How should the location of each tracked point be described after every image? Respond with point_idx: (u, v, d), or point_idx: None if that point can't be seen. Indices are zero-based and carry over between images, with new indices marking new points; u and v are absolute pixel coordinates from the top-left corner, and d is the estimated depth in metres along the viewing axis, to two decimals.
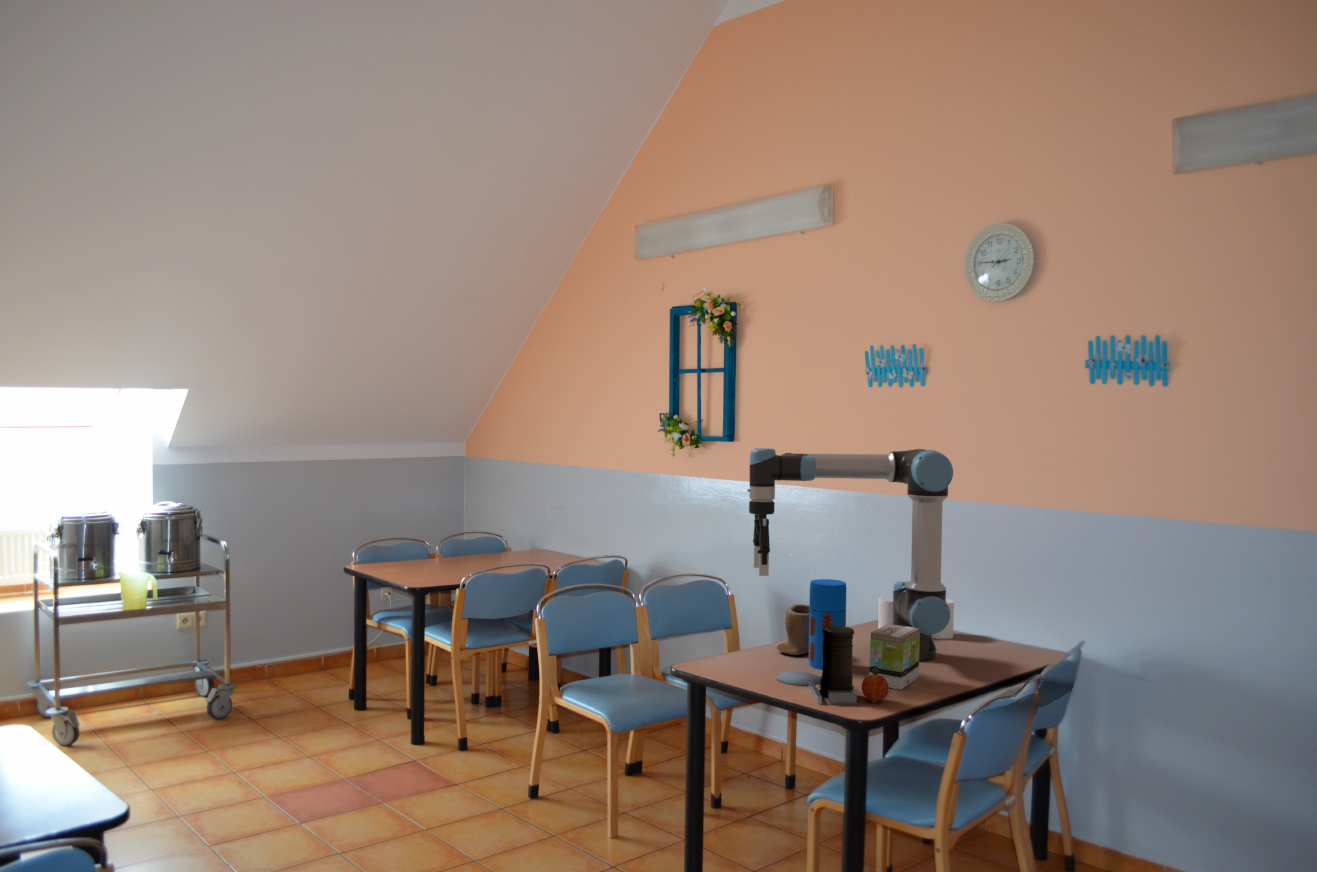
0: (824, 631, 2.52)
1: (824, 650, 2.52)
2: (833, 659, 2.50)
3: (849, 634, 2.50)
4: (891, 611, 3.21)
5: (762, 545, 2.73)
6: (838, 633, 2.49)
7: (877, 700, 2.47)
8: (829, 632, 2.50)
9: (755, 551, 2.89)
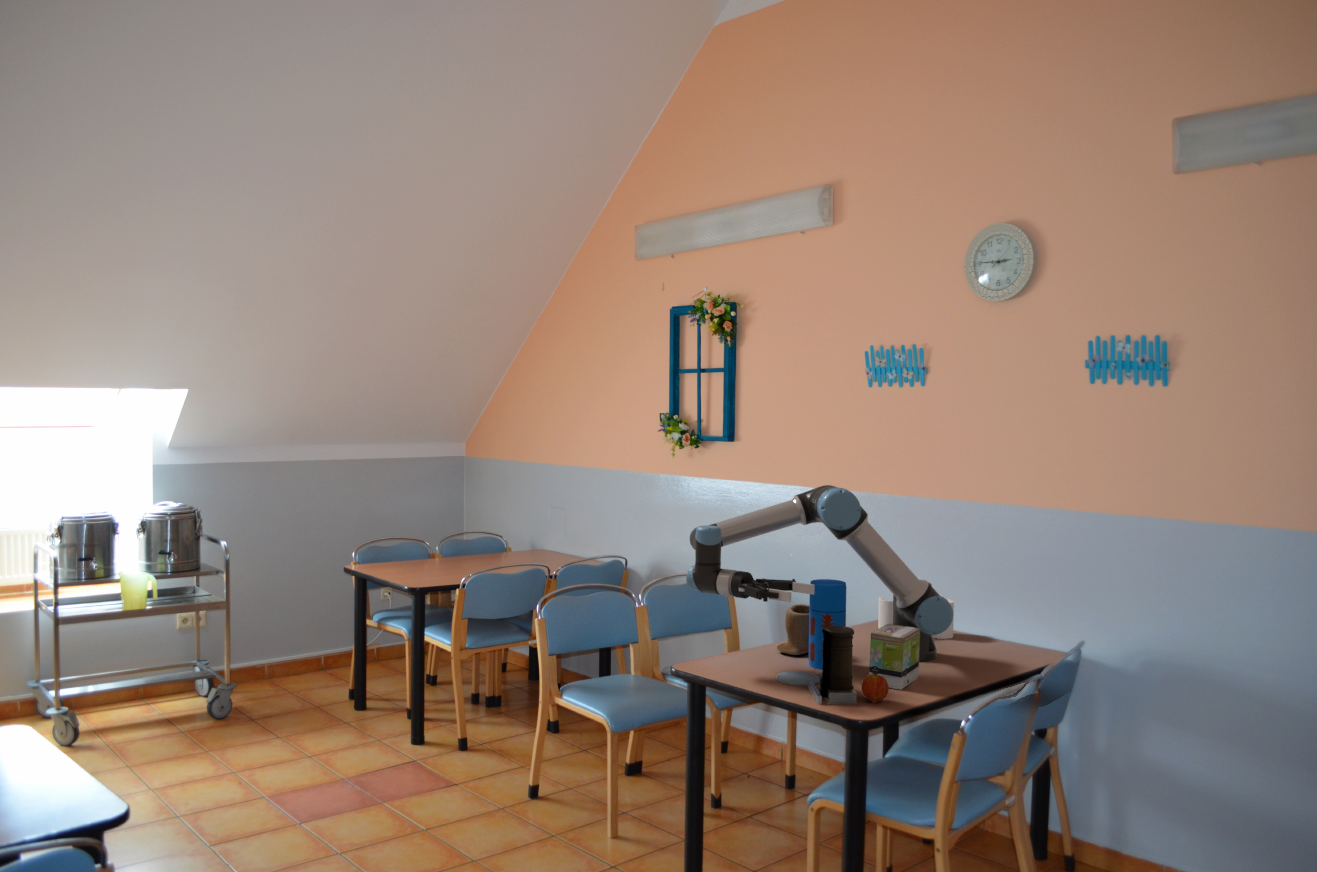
0: (824, 631, 2.52)
1: (824, 650, 2.52)
2: (833, 659, 2.50)
3: (849, 634, 2.50)
4: (891, 611, 3.21)
5: (755, 597, 2.57)
6: (838, 633, 2.49)
7: (877, 700, 2.47)
8: (829, 632, 2.50)
9: (797, 590, 2.67)
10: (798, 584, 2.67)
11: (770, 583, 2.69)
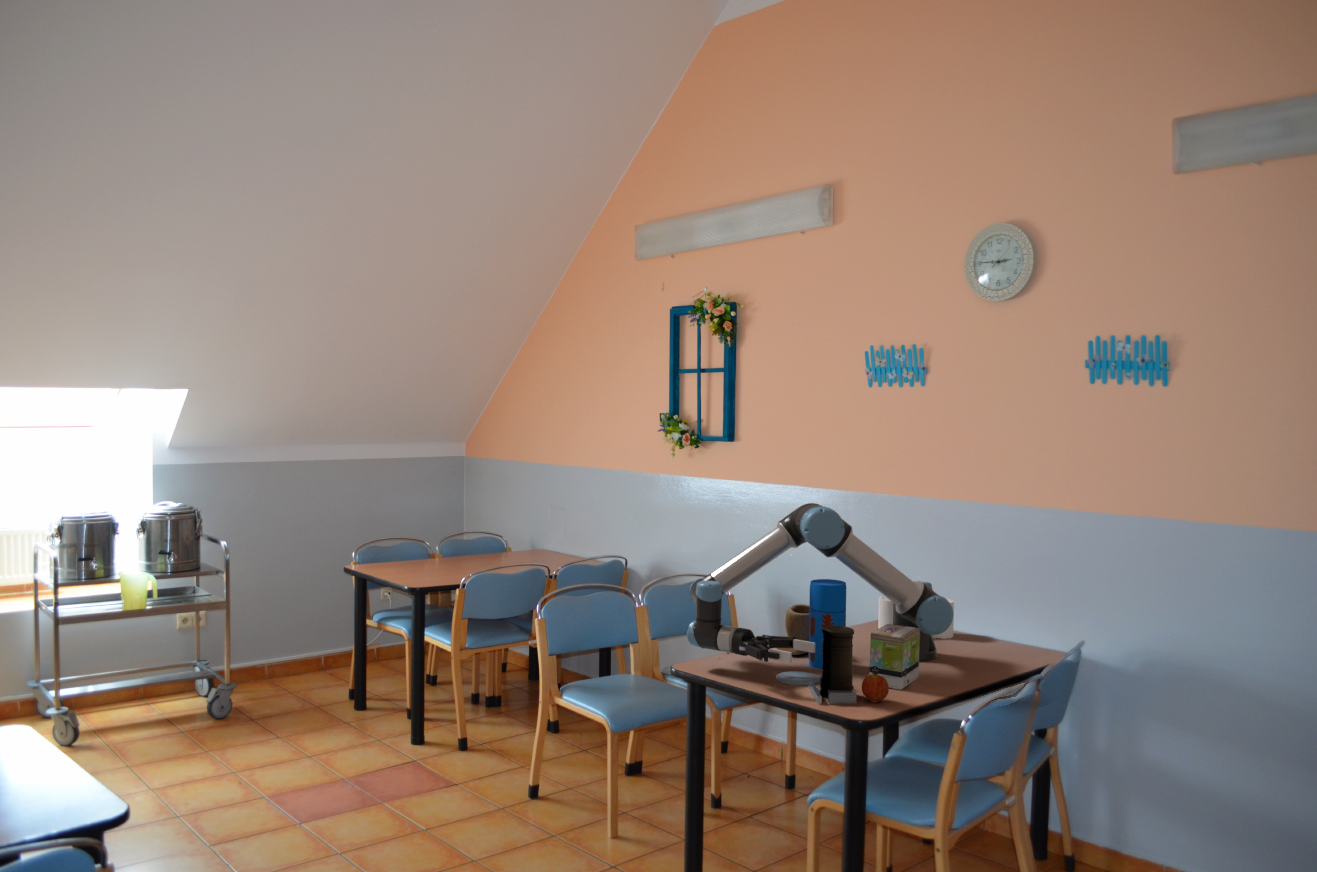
0: (824, 631, 2.52)
1: (824, 650, 2.52)
2: (833, 659, 2.50)
3: (849, 634, 2.50)
4: (891, 611, 3.21)
5: (756, 657, 2.57)
6: (838, 633, 2.49)
7: (877, 700, 2.47)
8: (829, 632, 2.50)
9: (797, 648, 2.67)
10: (799, 642, 2.67)
11: (771, 640, 2.69)
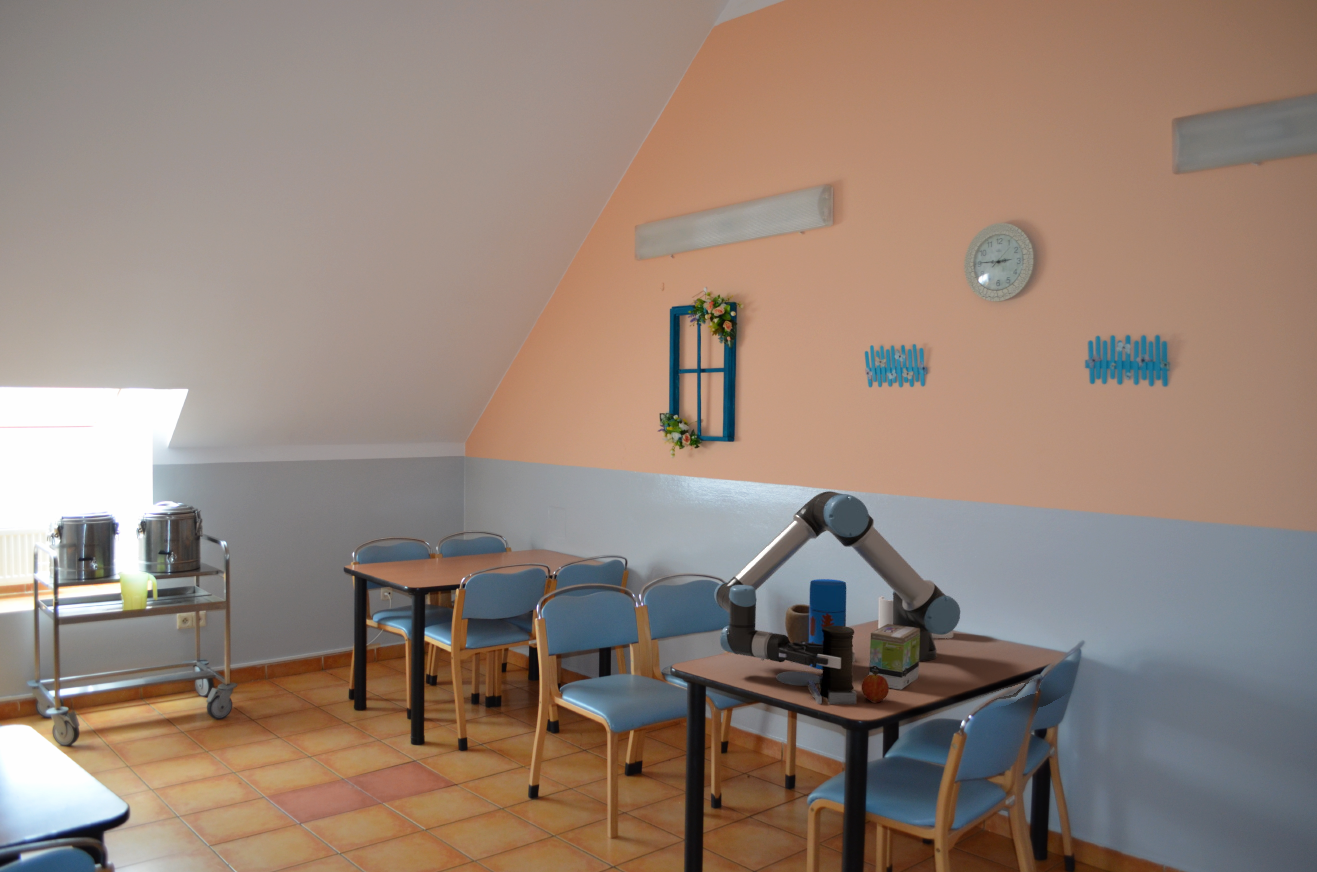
0: (824, 631, 2.52)
1: (824, 650, 2.52)
2: None
3: (849, 634, 2.50)
4: (891, 610, 3.22)
5: (803, 663, 2.51)
6: (838, 633, 2.49)
7: (877, 700, 2.47)
8: (829, 632, 2.50)
9: None
10: None
11: (807, 647, 2.61)
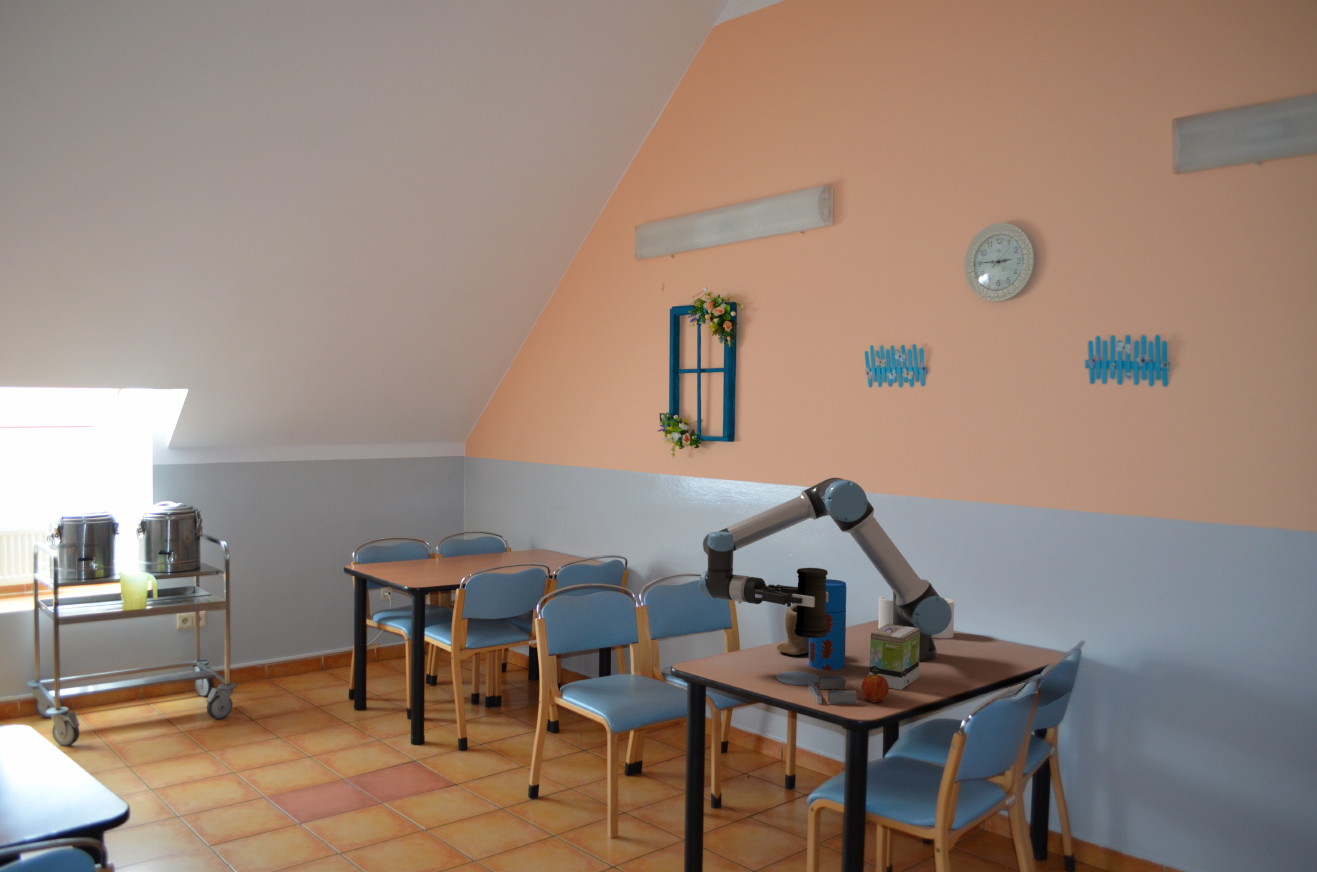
0: (799, 572, 2.61)
1: (799, 590, 2.62)
2: None
3: (823, 574, 2.59)
4: (891, 610, 3.22)
5: (778, 602, 2.60)
6: (812, 573, 2.58)
7: (877, 700, 2.47)
8: (803, 572, 2.60)
9: None
10: None
11: (782, 589, 2.70)
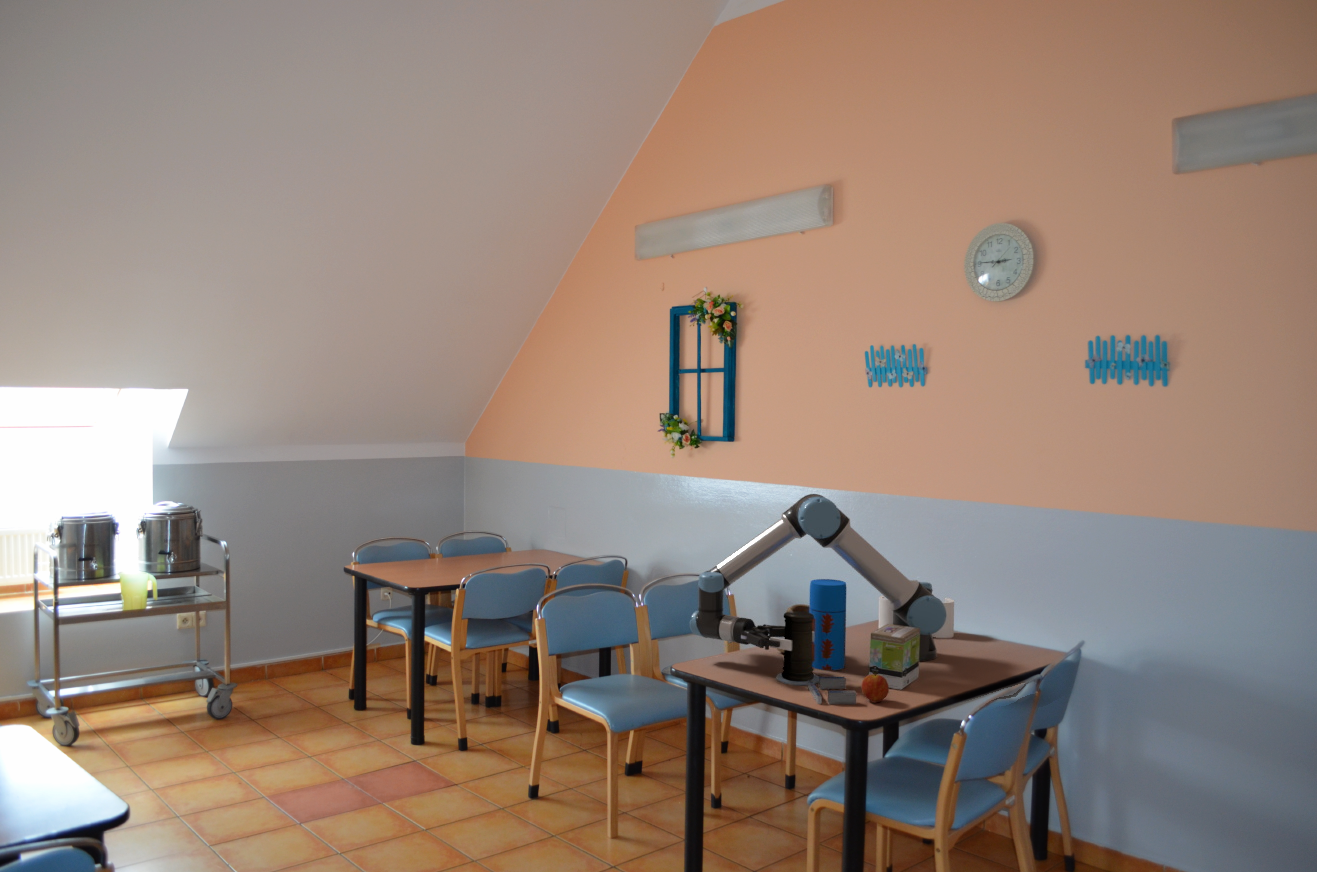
0: (785, 616, 2.67)
1: (785, 634, 2.67)
2: (793, 643, 2.65)
3: (808, 619, 2.64)
4: (891, 610, 3.23)
5: (757, 645, 2.65)
6: (798, 618, 2.64)
7: (877, 700, 2.47)
8: (790, 617, 2.65)
9: None
10: None
11: (771, 630, 2.77)
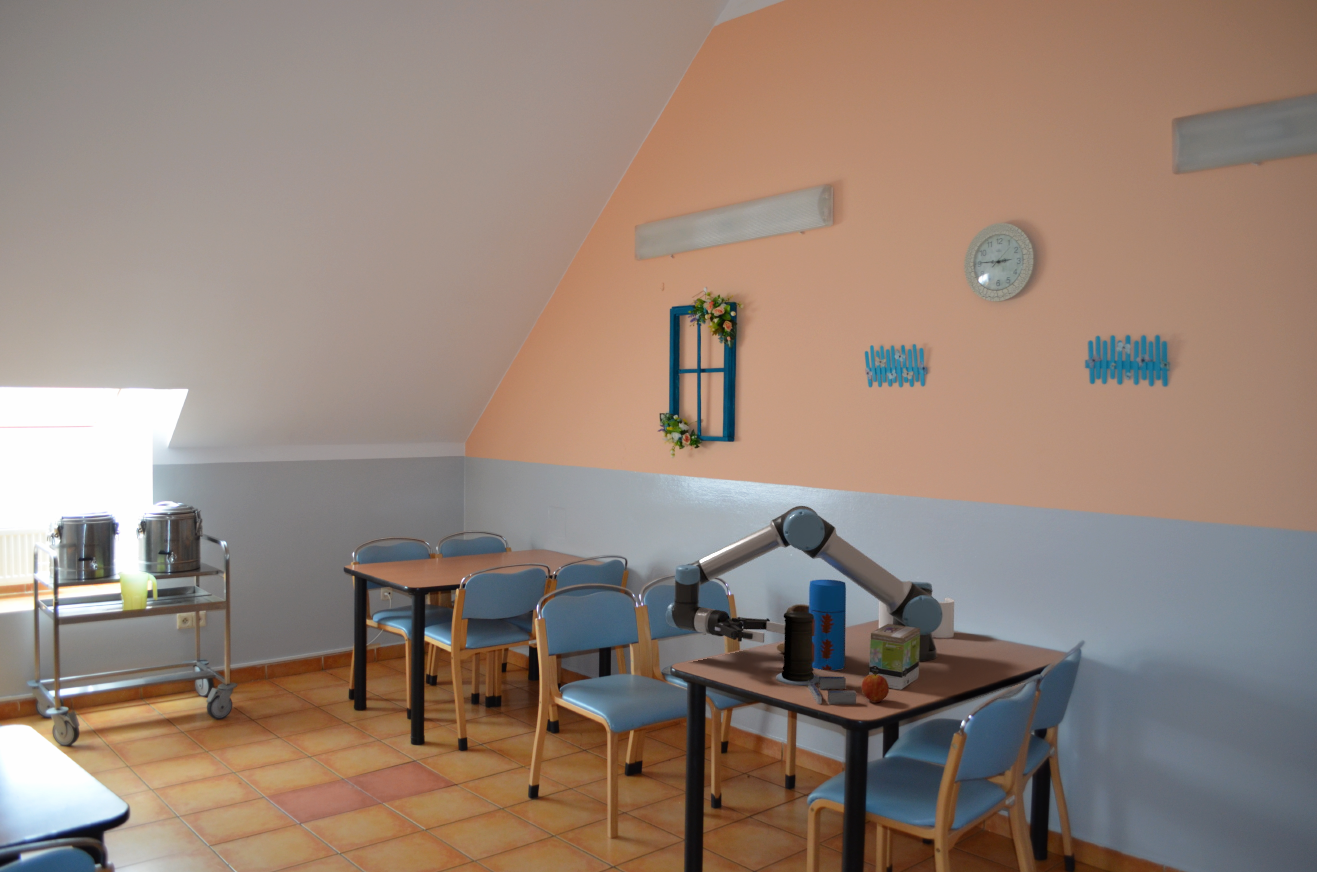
0: (785, 616, 2.67)
1: (785, 634, 2.67)
2: (793, 643, 2.65)
3: (809, 619, 2.64)
4: None
5: (730, 636, 2.70)
6: (798, 618, 2.64)
7: (877, 700, 2.47)
8: (790, 617, 2.65)
9: (770, 630, 2.81)
10: (772, 624, 2.80)
11: (745, 622, 2.82)
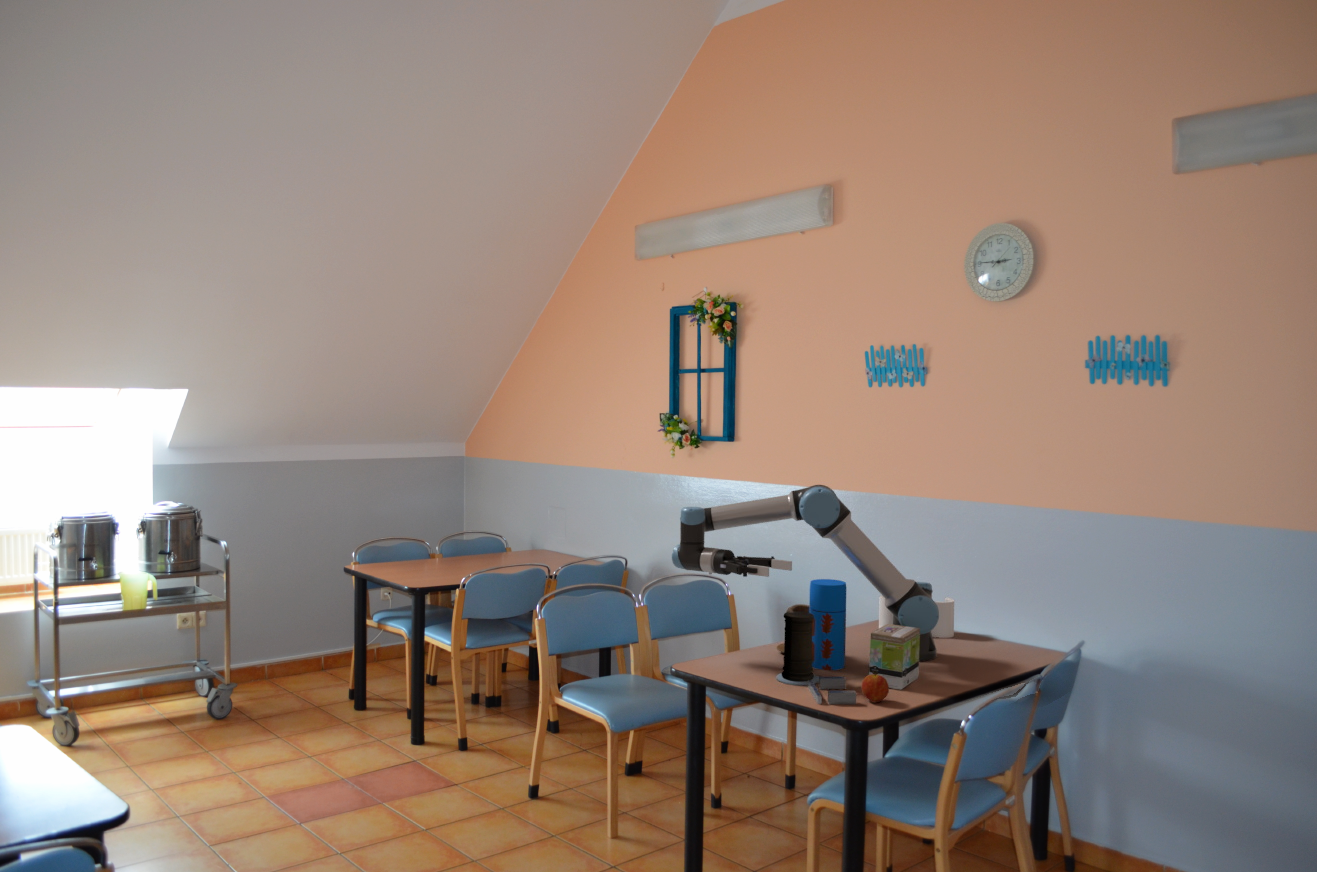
0: (785, 616, 2.67)
1: (785, 634, 2.67)
2: (793, 643, 2.65)
3: (809, 619, 2.65)
4: None
5: (736, 572, 2.73)
6: (798, 618, 2.64)
7: (877, 700, 2.47)
8: (790, 617, 2.65)
9: (775, 567, 2.84)
10: (776, 561, 2.84)
11: (750, 560, 2.85)
